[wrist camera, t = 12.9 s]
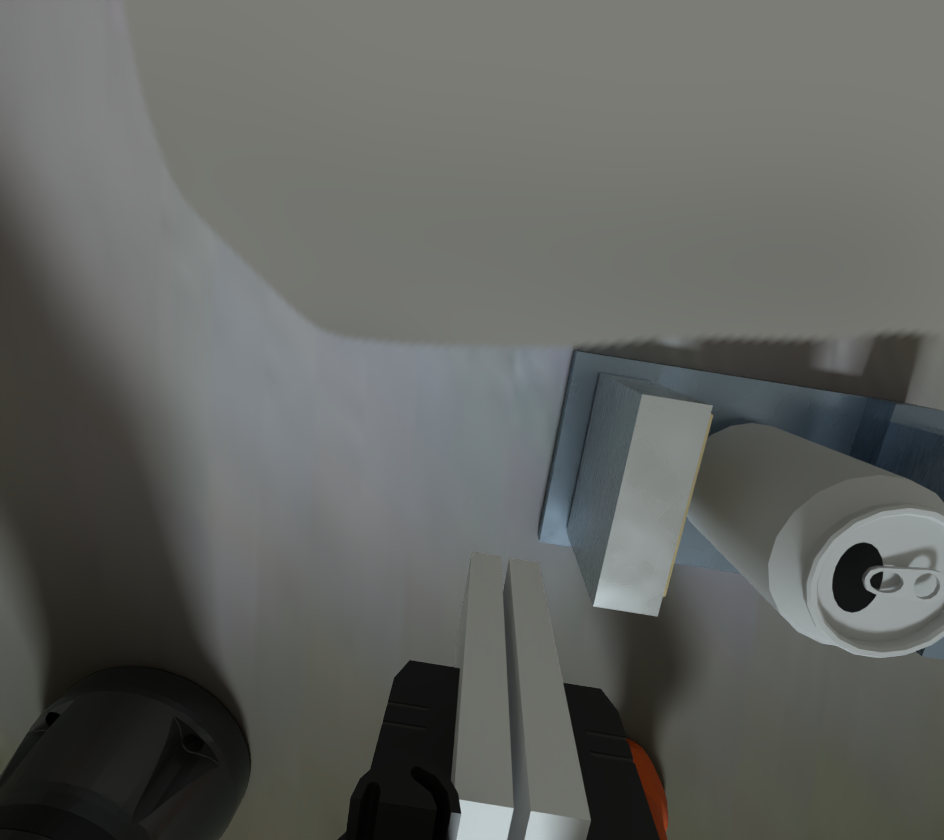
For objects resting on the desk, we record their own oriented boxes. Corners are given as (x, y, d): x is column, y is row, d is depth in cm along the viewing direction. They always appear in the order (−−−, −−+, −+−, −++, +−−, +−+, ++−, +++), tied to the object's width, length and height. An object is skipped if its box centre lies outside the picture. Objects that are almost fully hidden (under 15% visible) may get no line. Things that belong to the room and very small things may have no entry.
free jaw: (566, 532, 31) (593, 606, 23) (599, 372, 28) (642, 394, 21) (623, 541, 31) (670, 618, 23) (661, 382, 28) (727, 407, 21)
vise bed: (537, 534, 32) (556, 617, 23) (574, 350, 29) (610, 364, 21) (842, 583, 32) (977, 684, 23) (905, 402, 29) (1083, 439, 21)
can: (679, 419, 29) (808, 489, 17) (809, 420, 29) (1029, 491, 17) (669, 537, 31) (781, 675, 19) (792, 539, 30) (983, 679, 19)
